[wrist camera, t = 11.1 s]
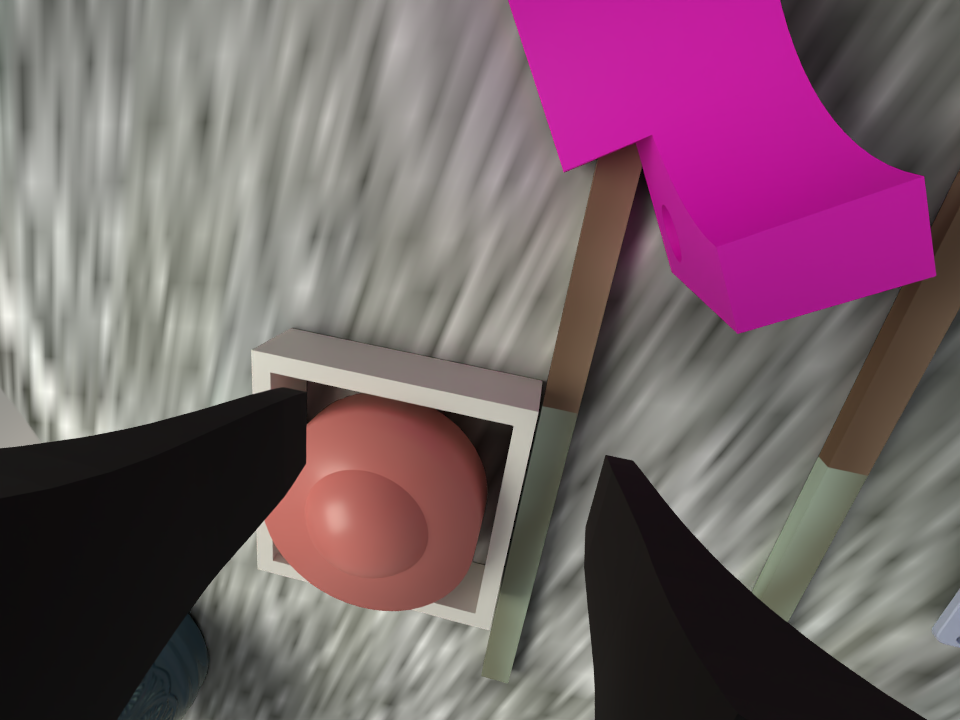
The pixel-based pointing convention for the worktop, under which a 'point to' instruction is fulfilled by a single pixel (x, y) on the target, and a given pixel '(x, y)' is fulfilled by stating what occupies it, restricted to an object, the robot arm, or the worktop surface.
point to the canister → (171, 677)
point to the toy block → (728, 151)
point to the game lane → (839, 464)
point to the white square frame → (425, 385)
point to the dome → (383, 504)
